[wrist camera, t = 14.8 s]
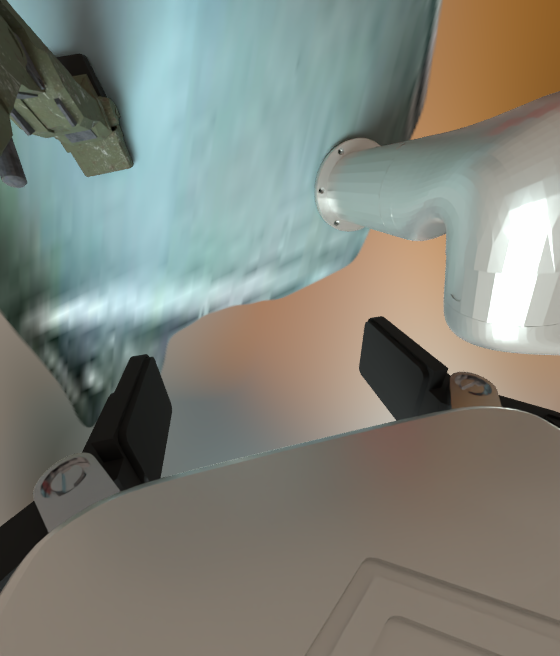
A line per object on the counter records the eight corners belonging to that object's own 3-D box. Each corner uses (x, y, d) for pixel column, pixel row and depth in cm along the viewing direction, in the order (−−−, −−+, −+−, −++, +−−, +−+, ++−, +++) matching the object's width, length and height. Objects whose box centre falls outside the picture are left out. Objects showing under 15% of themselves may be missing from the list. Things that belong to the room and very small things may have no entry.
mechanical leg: (-7, 8, 24) (-1121, -416, 4) (72, -3, 25) (-476, -412, 4) (88, 171, 34) (-62, 313, 13) (143, 160, 35) (81, 278, 14)
